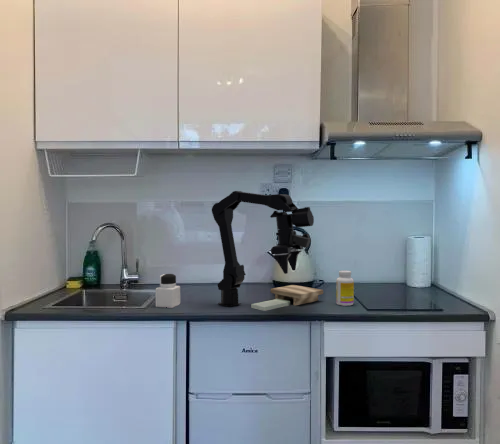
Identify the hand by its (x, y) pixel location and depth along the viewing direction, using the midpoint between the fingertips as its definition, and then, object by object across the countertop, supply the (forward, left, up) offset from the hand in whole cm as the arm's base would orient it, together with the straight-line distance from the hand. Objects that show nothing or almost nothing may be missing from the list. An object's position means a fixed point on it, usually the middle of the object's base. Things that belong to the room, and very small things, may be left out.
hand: (290, 272), depth 174 cm
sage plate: (-11, +1, -15) cm, 18 cm away
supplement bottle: (+6, +25, -15) cm, 29 cm away
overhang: (-11, +16, -14) cm, 24 cm away
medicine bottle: (-39, -26, -15) cm, 49 cm away
